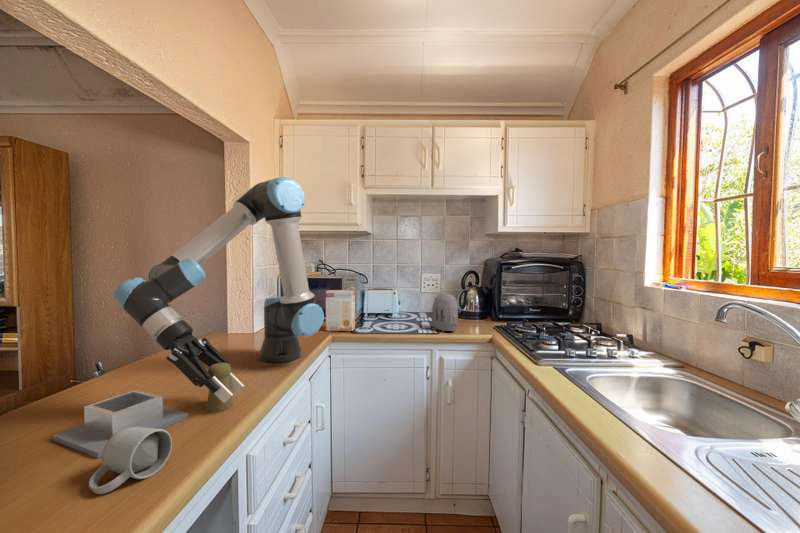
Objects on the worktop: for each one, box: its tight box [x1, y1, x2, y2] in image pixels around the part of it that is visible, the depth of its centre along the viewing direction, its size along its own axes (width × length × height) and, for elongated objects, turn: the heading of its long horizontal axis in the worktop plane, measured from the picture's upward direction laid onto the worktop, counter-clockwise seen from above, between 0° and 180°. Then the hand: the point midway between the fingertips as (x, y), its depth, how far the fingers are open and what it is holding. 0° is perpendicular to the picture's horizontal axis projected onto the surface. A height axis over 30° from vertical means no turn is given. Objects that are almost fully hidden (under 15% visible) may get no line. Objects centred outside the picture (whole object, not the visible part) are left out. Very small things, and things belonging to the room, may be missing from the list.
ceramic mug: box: [88, 427, 173, 495], centre depth 60 cm, size 11×8×8 cm
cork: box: [206, 363, 234, 413], centre depth 87 cm, size 6×6×11 cm
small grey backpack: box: [431, 292, 459, 332], centre depth 176 cm, size 15×8×20 cm, turn 44°
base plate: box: [52, 405, 189, 459], centre depth 76 cm, size 18×16×1 cm
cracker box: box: [325, 289, 356, 332], centre depth 176 cm, size 14×6×21 cm, turn 82°
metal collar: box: [83, 389, 164, 438], centre depth 76 cm, size 10×10×5 cm
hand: (234, 394), depth 87 cm, fingers closed on cork, 5 cm apart
